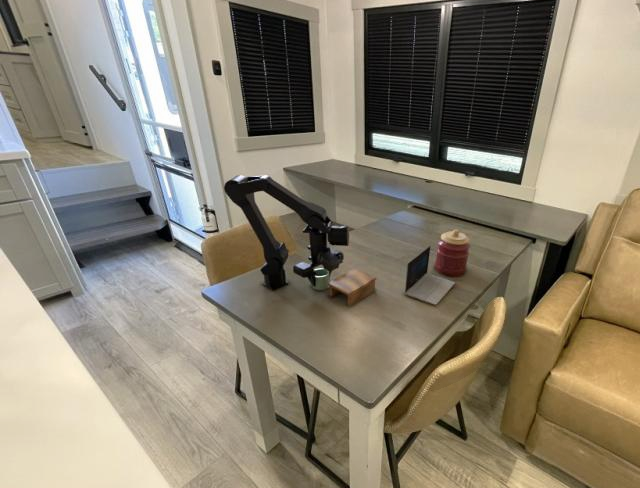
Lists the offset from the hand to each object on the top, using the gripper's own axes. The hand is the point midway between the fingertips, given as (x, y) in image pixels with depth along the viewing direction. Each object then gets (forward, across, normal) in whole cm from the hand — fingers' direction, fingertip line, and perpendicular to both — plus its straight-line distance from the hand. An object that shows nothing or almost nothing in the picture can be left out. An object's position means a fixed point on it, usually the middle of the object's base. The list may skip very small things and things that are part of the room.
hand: (320, 282), depth 120 cm
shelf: (+1, +4, -12) cm, 13 cm away
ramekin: (+1, 0, 0) cm, 1 cm away
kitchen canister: (+1, +44, -30) cm, 53 cm away
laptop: (+1, +25, -32) cm, 41 cm away
